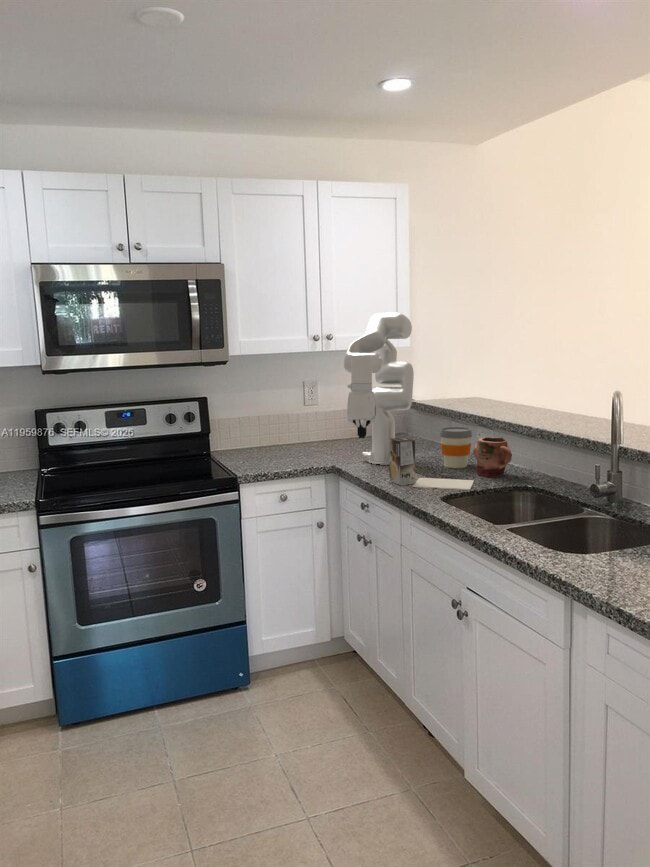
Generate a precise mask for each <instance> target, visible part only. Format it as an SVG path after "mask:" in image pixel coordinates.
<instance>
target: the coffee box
mask: <svg viewBox="0 0 650 867" xmlns="http://www.w3.org/2000/svg"><path fill="white" fill-rule="evenodd" d="M388 466H389V482H391V481H392V483H393V482H394V484H396V485H398V484H399V486H401V485H402V486H407V484H410V485H414V484H415V483H416V440H414V439H411V438H408V437H403V436H402V437H395V438H391V439H389V465H388Z"/></svg>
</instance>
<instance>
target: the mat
mask: <svg viewBox="0 0 650 867" xmlns="http://www.w3.org/2000/svg"><path fill="white" fill-rule="evenodd" d="M474 483H475V480H474V479H458V478H457V479H454V478H435V477H433V478H432V477H419V478H418V479H417V480H415V484H412V488H413V487H424V488H423V489H433V488H437V490H453V489H454V490H457V491H471V490H472V489H471V488H472V487H473V485H474Z"/></svg>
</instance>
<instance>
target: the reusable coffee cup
mask: <svg viewBox="0 0 650 867" xmlns="http://www.w3.org/2000/svg"><path fill="white" fill-rule="evenodd" d="M439 437H440V438H441V442H440V447H441V449H440V450H441V454H442V456H443V465H444V467H445V468H449V469H463V468H466V467H468V462H469V455H470V454H471V448H472V443H471V439H472V437H473V432H472V429H471V428H469V427H463V426H462V427H461V426H449V427H443V428H441V429H440V433H439Z"/></svg>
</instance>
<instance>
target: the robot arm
mask: <svg viewBox="0 0 650 867" xmlns="http://www.w3.org/2000/svg"><path fill="white" fill-rule="evenodd" d="M412 331H413V330H412V322H411V321H410V319H409V317H408V316H406V315H404V314H403V313H400V312H385V313H384V312H383V313H382V312H381V313H380V312H378V313H375V314H373V315H372V316H371V317H370V319H369V322H368V324H367V327H366V329H365V333H364V335H362V336H360V337H359V338H358V339H356V340H354V341H353V342H351V343H350V344H349V346H348V347H347V350H346V352H345V355H344V359H343V368H344V369H345V372H348V373H349V374H350V375H351V378H350V381H351V383H350V384H347V389H350V391H349V392H348V396H347V407H346V408H347V410H346V417H347V422H349V423H353V424H354V425H355V427H356V428H357V437H358V438H359V439H364V438H366V436H367V427H368V426H369V425H370V424H371V451H369V452H367V451H363V452H362V457H364V458H369V459H368V463H369V464H371V463H372V464H371V465H376V464H380V465H379V466H389V439H391V438H396V421H395V418H394V416H393V414H392V413H391V412H390V411H407V410H409V409H411V407H412V405H413V395H414V394H413V391H414V390H413V389H414V378H415V377H414V367H413V365H412V364H411V363H410V362H408V361H397V357H398V354H397V353H398V350H397V349H396V347H395V346H394V344H393V343H392V342H391V341H390V340H405V339H408V338H409V337H411V334H412ZM373 374H374V378H375V382H376V383H377V384H378V385H379V384H380V385H389V386H378V387H374V388H373ZM392 385H393V386H392ZM394 385H398V386H394Z"/></svg>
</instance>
